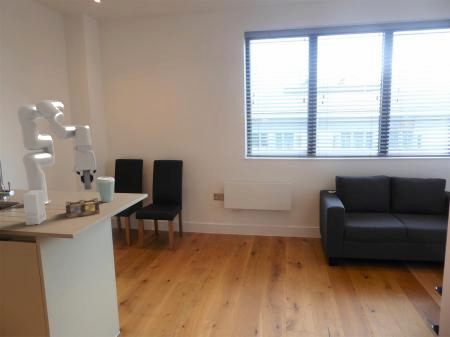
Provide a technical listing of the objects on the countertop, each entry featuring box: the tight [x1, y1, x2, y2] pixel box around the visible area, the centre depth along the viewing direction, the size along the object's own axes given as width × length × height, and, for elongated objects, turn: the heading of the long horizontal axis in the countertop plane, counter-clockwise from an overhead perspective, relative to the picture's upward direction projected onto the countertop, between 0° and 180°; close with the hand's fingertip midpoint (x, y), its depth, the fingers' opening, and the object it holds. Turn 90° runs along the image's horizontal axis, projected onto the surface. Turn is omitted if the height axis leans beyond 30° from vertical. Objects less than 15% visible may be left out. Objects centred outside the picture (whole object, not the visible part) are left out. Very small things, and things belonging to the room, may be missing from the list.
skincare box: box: [22, 190, 47, 226], centre depth 157 cm, size 8×7×16 cm
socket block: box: [65, 197, 101, 219], centre depth 171 cm, size 16×11×6 cm
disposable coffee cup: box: [96, 176, 116, 203], centre depth 195 cm, size 11×11×15 cm
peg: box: [82, 170, 93, 191], centre depth 170 cm, size 4×4×11 cm
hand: (87, 182), depth 171 cm, fingers closed on peg, 3 cm apart
